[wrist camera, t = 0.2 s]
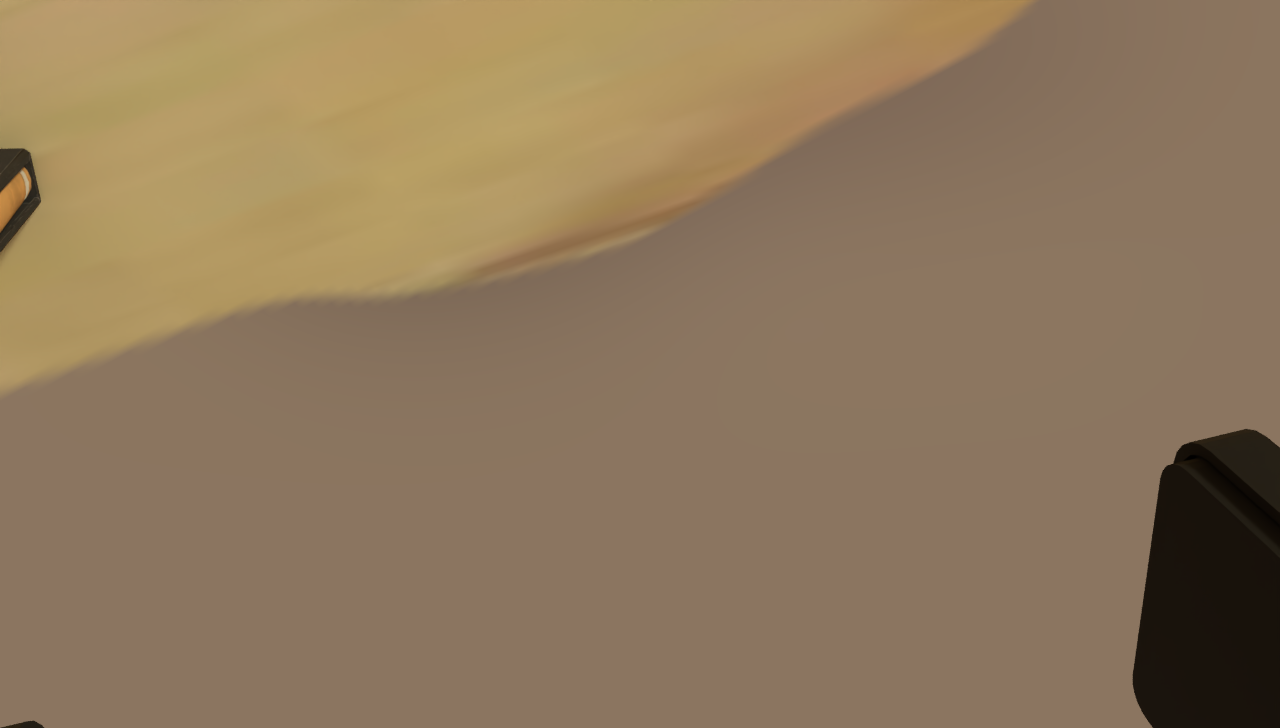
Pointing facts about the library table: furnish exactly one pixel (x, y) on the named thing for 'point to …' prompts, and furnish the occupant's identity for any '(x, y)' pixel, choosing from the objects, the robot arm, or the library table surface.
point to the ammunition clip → (16, 192)
